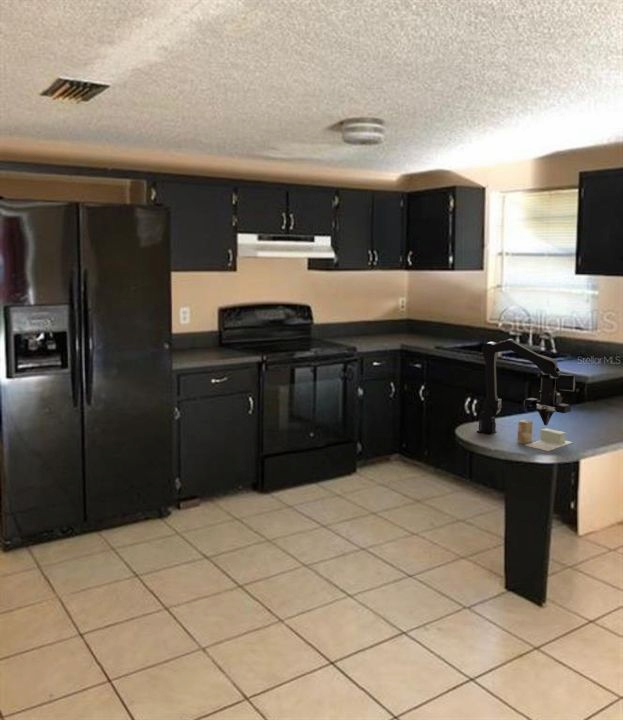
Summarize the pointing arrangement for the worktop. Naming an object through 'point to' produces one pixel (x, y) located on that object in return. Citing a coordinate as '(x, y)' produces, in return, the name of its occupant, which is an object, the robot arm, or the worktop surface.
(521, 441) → the oak block
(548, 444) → the mat
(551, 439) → the sage block
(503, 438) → the worktop surface
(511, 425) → the worktop surface
